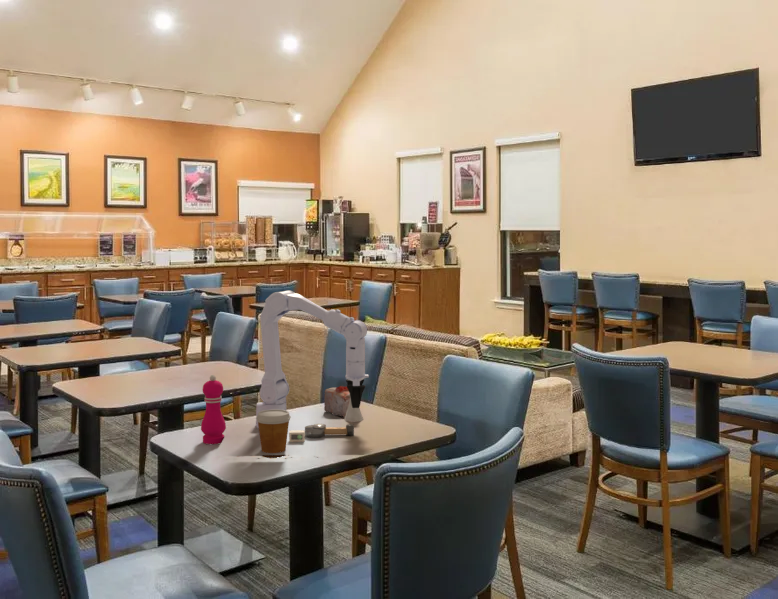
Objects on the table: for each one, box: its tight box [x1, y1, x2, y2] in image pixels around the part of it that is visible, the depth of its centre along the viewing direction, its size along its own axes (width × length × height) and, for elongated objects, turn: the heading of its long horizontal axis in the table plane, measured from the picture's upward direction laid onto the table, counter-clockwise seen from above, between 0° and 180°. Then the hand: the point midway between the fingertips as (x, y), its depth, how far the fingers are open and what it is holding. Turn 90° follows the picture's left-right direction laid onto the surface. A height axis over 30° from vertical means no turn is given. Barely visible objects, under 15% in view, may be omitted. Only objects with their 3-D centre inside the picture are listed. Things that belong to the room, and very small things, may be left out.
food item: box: [323, 385, 350, 418], centre depth 265 cm, size 14×8×10 cm, turn 41°
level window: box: [288, 429, 306, 443], centre depth 224 cm, size 4×3×3 cm
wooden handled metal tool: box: [304, 423, 355, 439], centre depth 231 cm, size 15×6×3 cm, turn 94°
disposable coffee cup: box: [255, 409, 292, 459], centre depth 215 cm, size 10×10×12 cm
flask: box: [343, 394, 364, 423], centre depth 251 cm, size 7×7×10 cm
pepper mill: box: [200, 374, 227, 445], centre depth 228 cm, size 7×7×20 cm
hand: (355, 404), depth 235 cm, fingers open, 7 cm apart
